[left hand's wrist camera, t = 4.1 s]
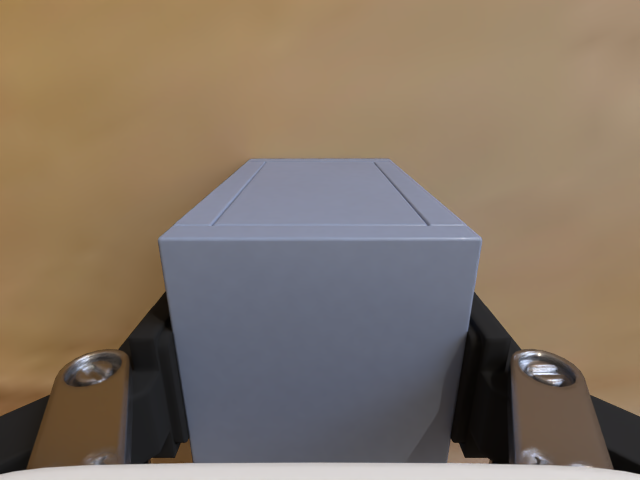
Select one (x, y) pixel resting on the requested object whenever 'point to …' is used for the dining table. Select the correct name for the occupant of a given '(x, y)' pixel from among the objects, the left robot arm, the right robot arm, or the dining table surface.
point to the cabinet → (319, 314)
